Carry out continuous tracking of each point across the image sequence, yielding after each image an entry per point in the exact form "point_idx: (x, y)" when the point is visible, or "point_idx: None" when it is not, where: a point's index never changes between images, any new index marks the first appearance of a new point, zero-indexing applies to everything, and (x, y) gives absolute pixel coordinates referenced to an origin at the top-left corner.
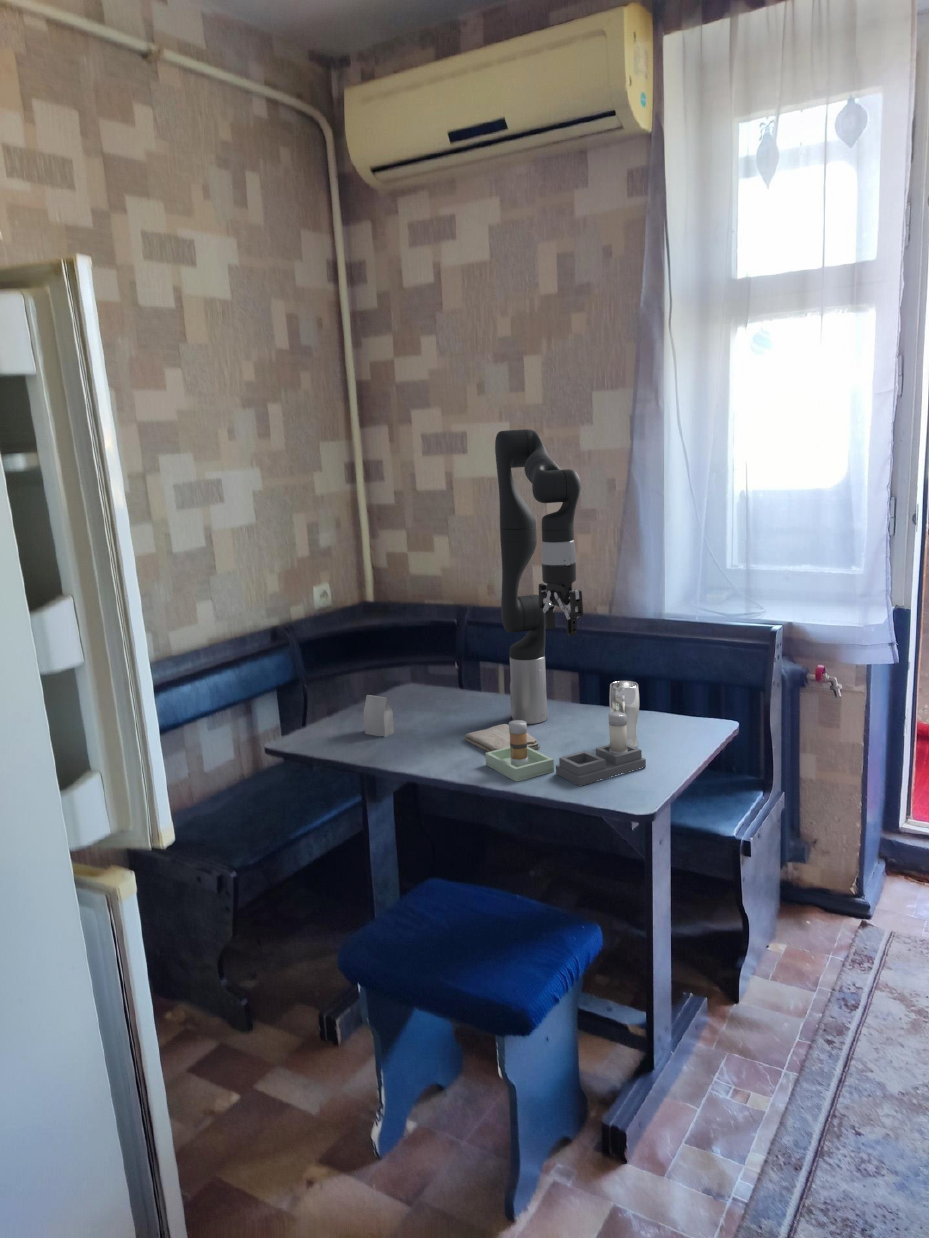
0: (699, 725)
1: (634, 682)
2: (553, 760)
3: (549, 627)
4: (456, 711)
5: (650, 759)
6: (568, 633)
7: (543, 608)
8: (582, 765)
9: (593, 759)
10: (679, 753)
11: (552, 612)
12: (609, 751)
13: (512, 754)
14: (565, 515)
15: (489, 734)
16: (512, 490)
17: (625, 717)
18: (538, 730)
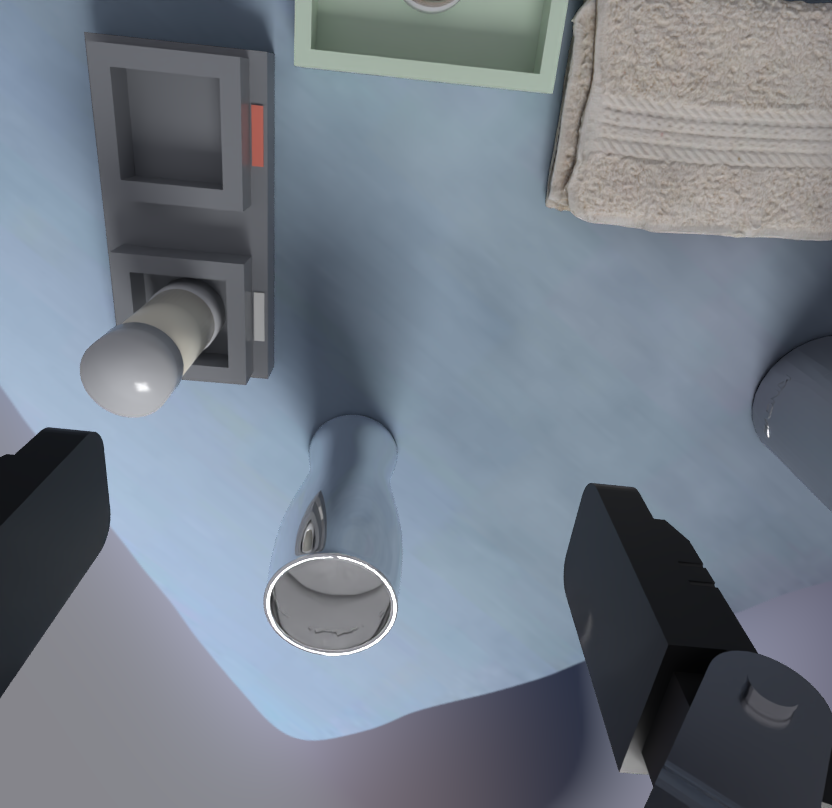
0: (335, 690)
1: (324, 651)
2: (295, 65)
3: (586, 516)
4: None
5: (189, 416)
6: (35, 437)
7: (826, 733)
8: (94, 69)
9: (164, 182)
10: (180, 510)
11: (647, 750)
12: (201, 291)
13: None
14: None
15: (794, 85)
16: None
17: (88, 386)
18: (702, 339)
